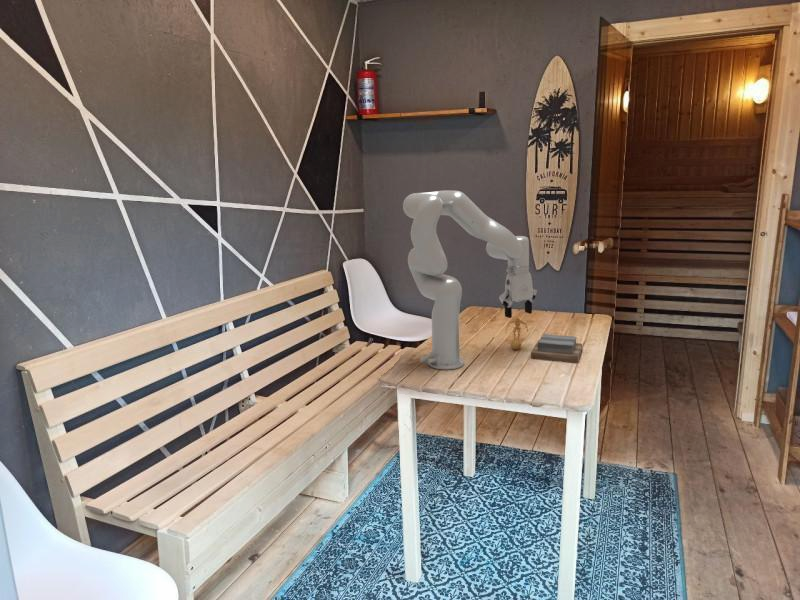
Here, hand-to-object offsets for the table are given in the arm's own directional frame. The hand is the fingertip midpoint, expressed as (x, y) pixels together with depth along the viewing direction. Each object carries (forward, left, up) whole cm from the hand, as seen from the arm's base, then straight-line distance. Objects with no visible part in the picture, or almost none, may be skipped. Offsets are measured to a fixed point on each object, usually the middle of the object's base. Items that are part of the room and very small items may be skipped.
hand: (518, 315), depth 211 cm
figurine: (-1, 0, -13) cm, 13 cm away
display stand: (+7, -13, -13) cm, 20 cm away
